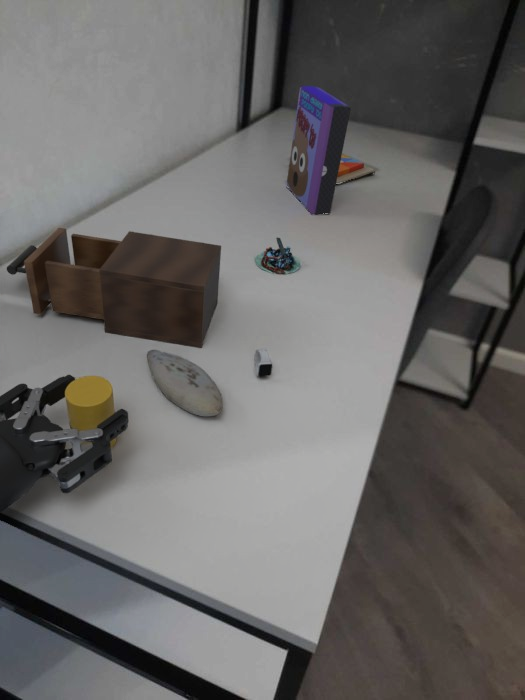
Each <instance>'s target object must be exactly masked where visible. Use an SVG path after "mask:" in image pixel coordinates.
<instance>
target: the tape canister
mask: <svg viewBox="0 0 525 700" xmlns="http://www.w3.org/2000/svg"><path fill="white" fill-rule="evenodd" d="M64 399H65V404H66V409H67V410H66V411H67V417H68V424H69V429H74V428H75V429H78V430H79V431H83V430H89V429H96V428H97V426H98V425H99V424H100V423H102V422H103V421H104V420H106V419H107V418H109V417H110V416H111V415H113V414H114V413H116V411H115V400H114V399H115V398H114V388H113V385H112V383H111V382H110V381H109V380H108V379H106V378H104V377H102V376H98V375H86V376H81V377H78V378H75V380H74V381H72V382H71V383H70V384H69V385H68V386H67V388H66V390H65V397H64ZM117 439H118V436H117V437H116V438H115V439H113V440H112V441H111V442H110V443H111V449H113V448H114V446H115V445H116V443H117ZM89 442H92V441H87V442H82V443H89Z"/></svg>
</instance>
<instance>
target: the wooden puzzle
mask: <svg viewBox="0 0 525 700" xmlns="http://www.w3.org/2000/svg"><path fill="white" fill-rule="evenodd" d="M370 173H374V174H376V170H375V169H374V168H372V167H369V166H367V165H365V163H364V162H362V161H360V160H358V159H356V158H353V157H350V156H348V155H346V154H343V153H342V156H341V161H340V166H339V171H338V176H337V181H336V183H340V182H344V181H347V182H349V181H348V180H350V181H352V180H351V179H353V180H356V179H358V178H361V177H363V176H367V175H369V174H370ZM355 178H356V179H355Z"/></svg>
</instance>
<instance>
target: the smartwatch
mask: <svg viewBox="0 0 525 700" xmlns="http://www.w3.org/2000/svg"><path fill="white" fill-rule="evenodd" d="M253 356H254V357H253V361H254V362H255V363H254V365H255V371H256V375H257V376H258V377H269V376H271V375H272V372H273V369H274V364H273V362H272V360H271V356H270V353H269V351H268V349H267V348H257V349H256V350H255V351H254V355H253Z"/></svg>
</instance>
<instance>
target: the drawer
mask: <svg viewBox="0 0 525 700" xmlns="http://www.w3.org/2000/svg"><path fill="white" fill-rule="evenodd" d="M70 238H71V245H72V253H73V254H72V255H73V261H74V264H72V263H71V255H70V248H69V240H68V233H67V228H65V227H58V228H56V230H55V231H53V233H52V234H51V235H50V236H48V237H47V238H46V239H45V240H44V241H43V242H42V244H40V245H39V246H38V247H36V246H35V245H29V246H28V247H27V248H26V249H24V250H23V252H21V253H20V254H19V255H18V256H16V258H15V259H13V261H11V263H9V265H8V266H6V271H7V273H8V274H10V275H11V276H12V275H17V273H20V274H25V275H26V280H27V285H28V290H29V295H30V300H31V306H32V311H33V314H36V315H42V314H43V313H44V312H45V311H46V309H47V308H48V307H49V306H50V305H51V310H52V312H54V313H62V314H67V315H73V316H78V317H79V316H80V317H86V318H92V319H98V320H104V313H103V303H102V292H101V281H100V271H99V270H100V268H101V267H102V266H103V264H104V263H105V262H106V261H107V259H108V258H109V257H110V255H111V254H112V253H113V252H114V250H115V249H116V248H117V246H118V245H119V244H120V242H121V241H122V240H116V239H110V238H104V237H97V236H92V235H91V236H90V235H85V234H79V233H72V234H71V235H70Z"/></svg>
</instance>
